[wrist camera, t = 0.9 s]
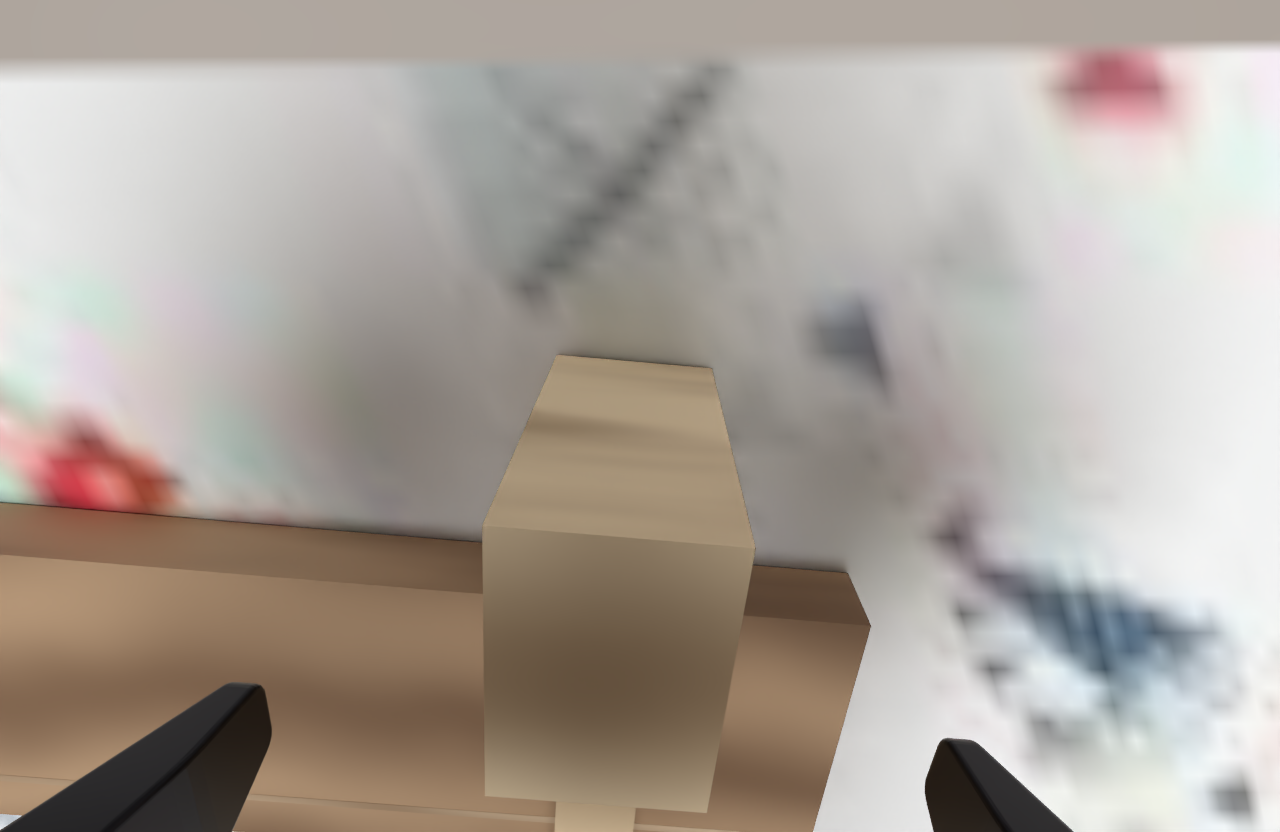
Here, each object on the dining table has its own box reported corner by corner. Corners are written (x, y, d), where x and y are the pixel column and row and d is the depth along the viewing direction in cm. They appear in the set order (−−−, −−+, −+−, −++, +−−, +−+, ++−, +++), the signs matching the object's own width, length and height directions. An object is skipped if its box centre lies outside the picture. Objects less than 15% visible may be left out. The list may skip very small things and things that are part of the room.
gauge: (654, 791, 20) (654, 1096, 14) (540, 782, 20) (488, 1085, 14) (711, 368, 15) (755, 548, 8) (556, 354, 15) (481, 525, 8)
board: (787, 808, 21) (800, 874, 19) (13, 748, 20) (-51, 810, 19) (847, 573, 17) (871, 625, 15) (-89, 495, 17) (-180, 539, 15)
